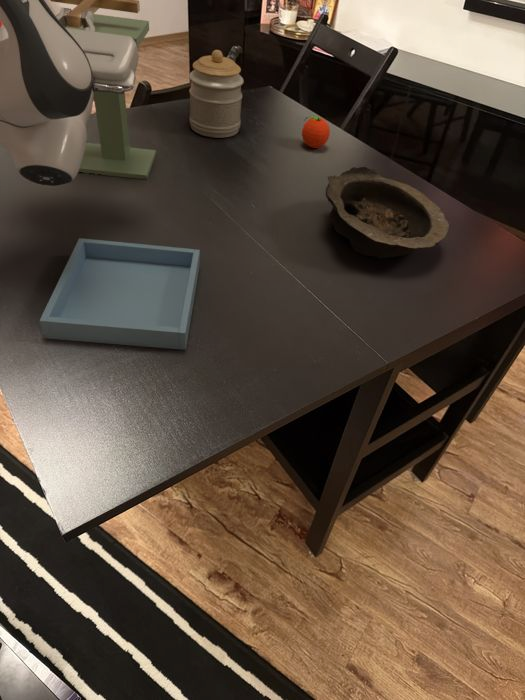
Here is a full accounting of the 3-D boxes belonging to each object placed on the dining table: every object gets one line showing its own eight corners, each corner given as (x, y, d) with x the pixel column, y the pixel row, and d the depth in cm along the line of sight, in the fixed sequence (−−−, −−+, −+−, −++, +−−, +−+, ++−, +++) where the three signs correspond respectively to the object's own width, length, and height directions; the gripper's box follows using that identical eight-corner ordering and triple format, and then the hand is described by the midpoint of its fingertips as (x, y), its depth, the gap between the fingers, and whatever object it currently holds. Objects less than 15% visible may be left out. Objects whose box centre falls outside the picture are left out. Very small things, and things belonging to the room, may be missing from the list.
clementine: (291, 142, 122) (295, 113, 117) (309, 136, 125) (314, 108, 120) (313, 155, 118) (319, 125, 113) (332, 149, 122) (338, 120, 117)
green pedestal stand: (70, 171, 100) (41, 26, 81) (85, 146, 109) (62, 9, 90) (147, 179, 101) (136, 38, 83) (156, 154, 110) (148, 20, 91)
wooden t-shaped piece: (23, 20, 74) (17, -11, 71) (53, -2, 84) (49, -29, 81) (122, 33, 75) (119, 4, 72) (139, 10, 85) (138, -17, 83)
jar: (187, 116, 126) (186, 39, 113) (236, 118, 128) (241, 43, 116) (191, 138, 117) (191, 57, 104) (243, 139, 120) (249, 61, 107)
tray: (44, 338, 68) (39, 320, 66) (82, 255, 82) (79, 238, 79) (185, 350, 70) (185, 333, 67) (199, 266, 83) (199, 249, 81)
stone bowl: (294, 209, 99) (304, 166, 93) (392, 206, 108) (408, 166, 102) (350, 282, 84) (367, 236, 77) (459, 270, 93) (483, 229, 87)
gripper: (129, 78, 71) (140, 3, 74) (-15, 61, 69) (3, -16, 72) (136, 109, 77) (146, 38, 80) (4, 93, 75) (20, 22, 78)
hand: (77, 12), depth 76 cm, fingers closed on wooden t-shaped piece, 2 cm apart
